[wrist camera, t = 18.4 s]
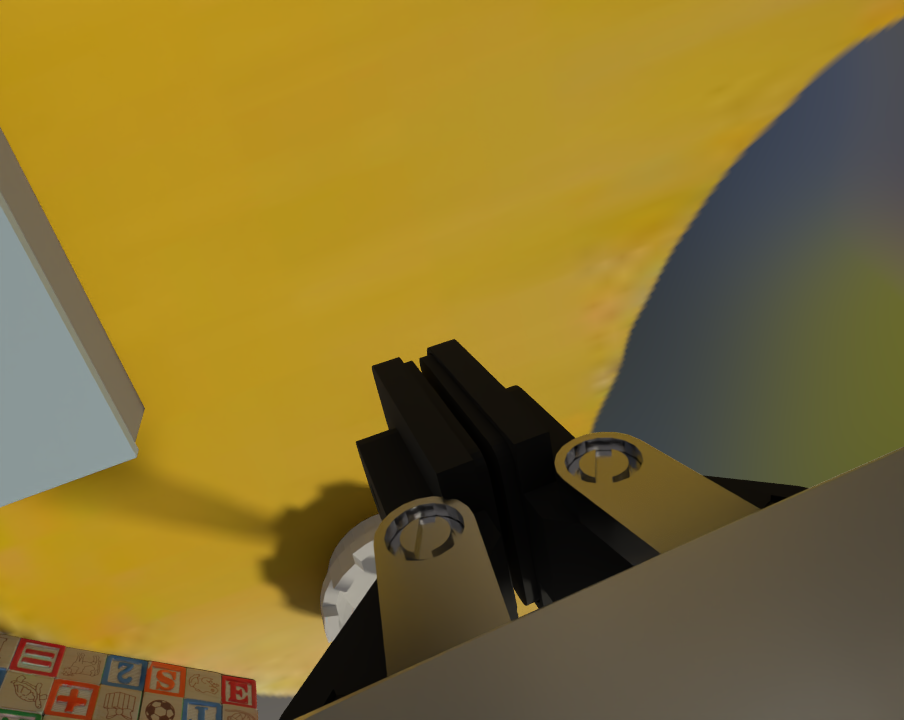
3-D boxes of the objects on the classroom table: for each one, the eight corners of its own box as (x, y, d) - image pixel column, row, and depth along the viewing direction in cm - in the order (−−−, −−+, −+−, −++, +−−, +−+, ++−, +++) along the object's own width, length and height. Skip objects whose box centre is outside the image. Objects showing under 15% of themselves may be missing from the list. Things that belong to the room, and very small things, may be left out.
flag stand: (435, 627, 57) (614, 1058, 31) (297, 623, 52) (371, 1139, 26) (481, 507, 54) (725, 872, 28) (339, 490, 49) (475, 920, 23)
